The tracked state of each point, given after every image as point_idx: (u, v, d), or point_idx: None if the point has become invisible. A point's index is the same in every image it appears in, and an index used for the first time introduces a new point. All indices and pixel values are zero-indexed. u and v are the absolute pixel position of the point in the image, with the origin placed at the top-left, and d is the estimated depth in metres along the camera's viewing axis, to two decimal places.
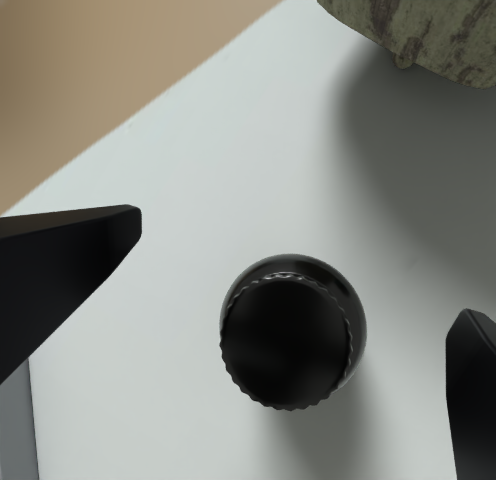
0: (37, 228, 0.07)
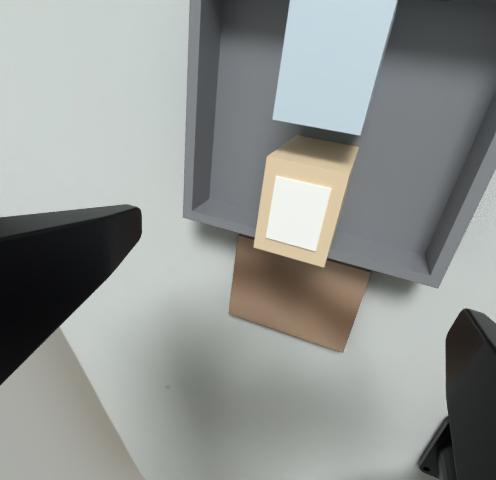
0: (37, 228, 0.07)
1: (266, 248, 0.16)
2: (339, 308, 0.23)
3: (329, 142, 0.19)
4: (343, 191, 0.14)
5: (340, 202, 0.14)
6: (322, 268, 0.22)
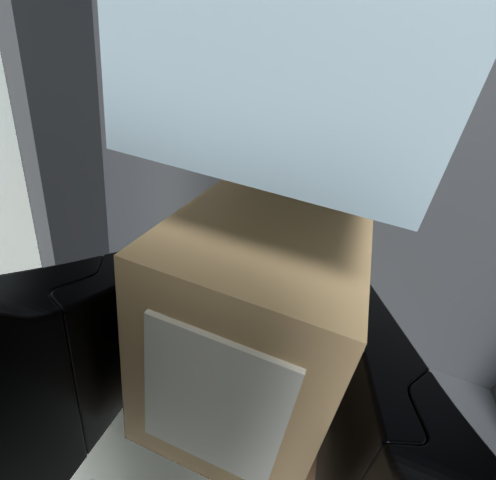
0: None
1: (152, 447, 0.07)
2: None
3: None
4: (343, 385, 0.04)
5: (333, 407, 0.05)
6: None
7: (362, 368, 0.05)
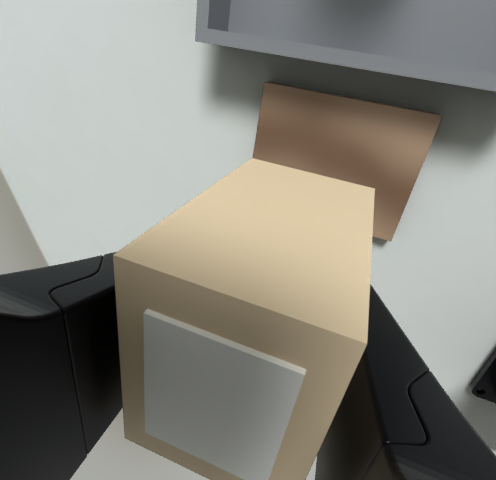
0: None
1: (152, 447, 0.07)
2: (392, 176, 0.18)
3: (314, 176, 0.09)
4: (343, 385, 0.04)
5: (333, 407, 0.05)
6: (375, 117, 0.17)
7: (362, 368, 0.05)
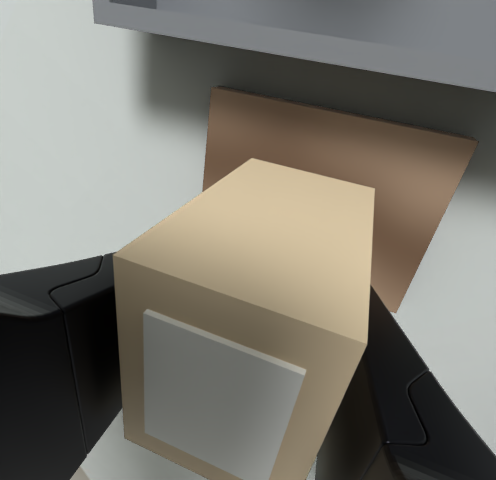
0: None
1: (152, 448, 0.07)
2: (399, 226, 0.12)
3: (314, 176, 0.09)
4: (343, 385, 0.04)
5: (333, 407, 0.05)
6: (374, 141, 0.11)
7: (362, 368, 0.05)
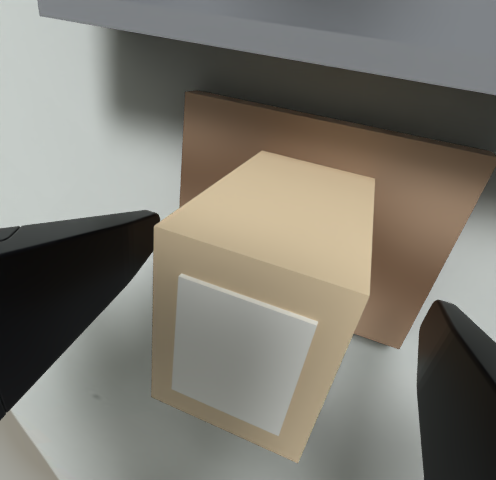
0: (61, 236, 0.07)
1: (176, 404, 0.08)
2: (404, 253, 0.10)
3: (319, 167, 0.10)
4: (349, 333, 0.05)
5: (340, 354, 0.05)
6: (375, 155, 0.10)
7: None
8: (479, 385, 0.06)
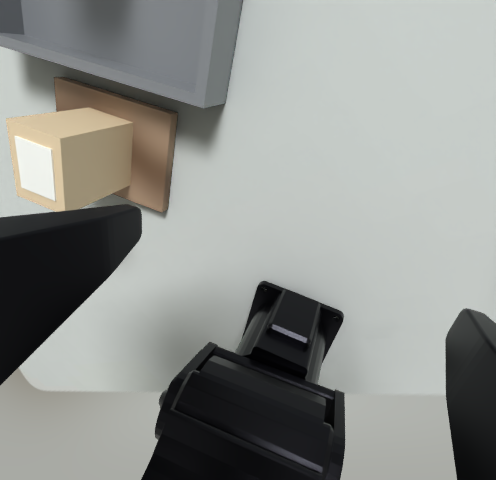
0: (37, 228, 0.07)
1: (25, 196, 0.20)
2: (151, 159, 0.23)
3: (109, 116, 0.22)
4: (60, 152, 0.17)
5: (61, 161, 0.18)
6: (130, 111, 0.22)
7: None
8: None
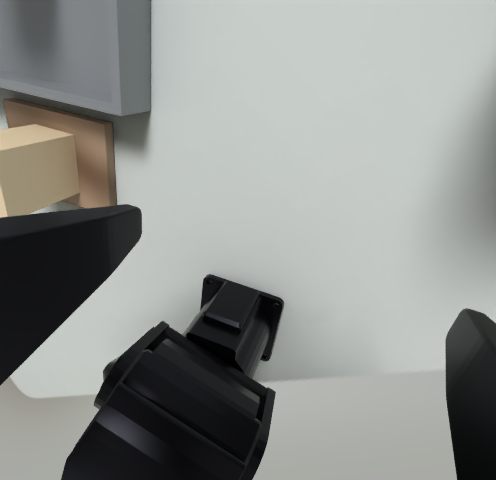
0: (37, 228, 0.07)
1: None
2: (94, 167, 0.25)
3: (52, 130, 0.24)
4: None
5: None
6: (70, 125, 0.24)
7: None
8: None
